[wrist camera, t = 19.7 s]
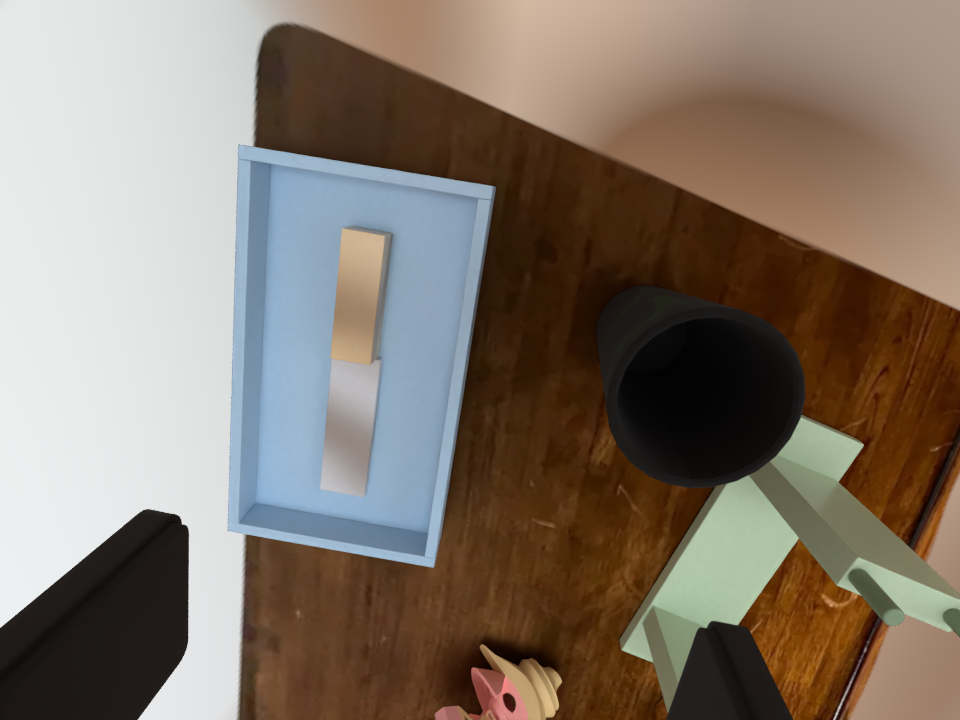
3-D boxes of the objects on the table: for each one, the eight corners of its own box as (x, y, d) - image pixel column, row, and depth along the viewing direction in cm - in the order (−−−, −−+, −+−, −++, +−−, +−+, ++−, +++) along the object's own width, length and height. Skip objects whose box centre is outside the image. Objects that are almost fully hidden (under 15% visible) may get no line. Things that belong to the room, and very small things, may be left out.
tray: (265, 148, 32) (237, 144, 29) (496, 186, 32) (493, 186, 29) (250, 503, 39) (227, 531, 36) (440, 537, 39) (433, 568, 36)
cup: (658, 413, 35) (725, 520, 24) (554, 353, 35) (570, 433, 23) (735, 308, 33) (849, 370, 22) (625, 242, 32) (682, 270, 21)
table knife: (347, 224, 32) (336, 226, 31) (398, 233, 32) (390, 236, 31) (322, 484, 37) (312, 500, 36) (367, 492, 37) (359, 508, 36)
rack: (768, 400, 35) (935, 540, 21) (855, 438, 35) (1077, 600, 21) (618, 639, 40) (669, 874, 26) (694, 670, 41) (784, 918, 27)
